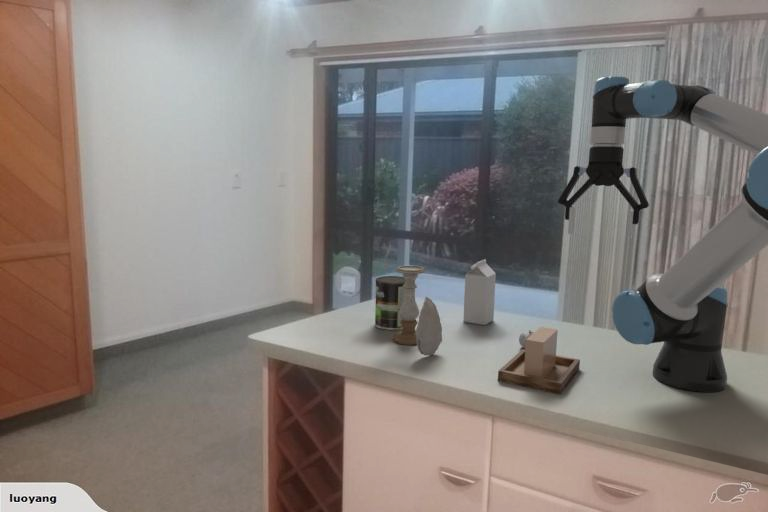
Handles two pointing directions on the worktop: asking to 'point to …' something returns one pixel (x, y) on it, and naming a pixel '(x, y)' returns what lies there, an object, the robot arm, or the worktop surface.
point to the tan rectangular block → (540, 352)
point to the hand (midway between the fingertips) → (599, 235)
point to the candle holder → (408, 306)
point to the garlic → (524, 337)
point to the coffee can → (389, 302)
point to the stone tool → (428, 329)
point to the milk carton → (479, 294)
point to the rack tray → (551, 383)
